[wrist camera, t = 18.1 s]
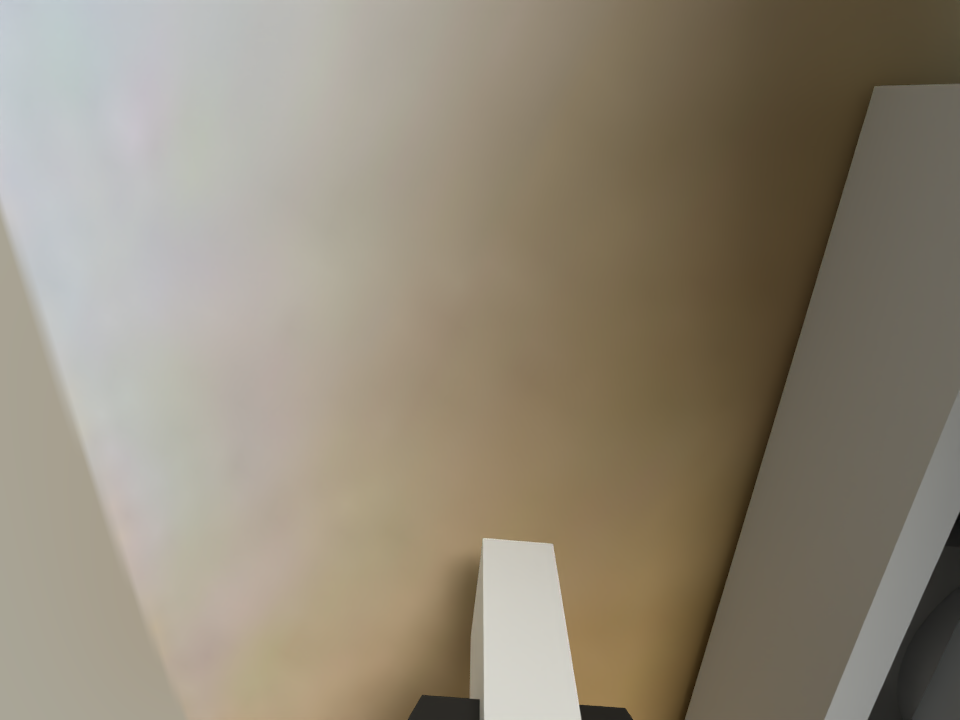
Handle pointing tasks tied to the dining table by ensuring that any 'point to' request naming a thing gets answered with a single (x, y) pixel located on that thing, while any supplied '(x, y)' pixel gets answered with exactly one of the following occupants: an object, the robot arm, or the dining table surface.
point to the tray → (857, 446)
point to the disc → (926, 653)
